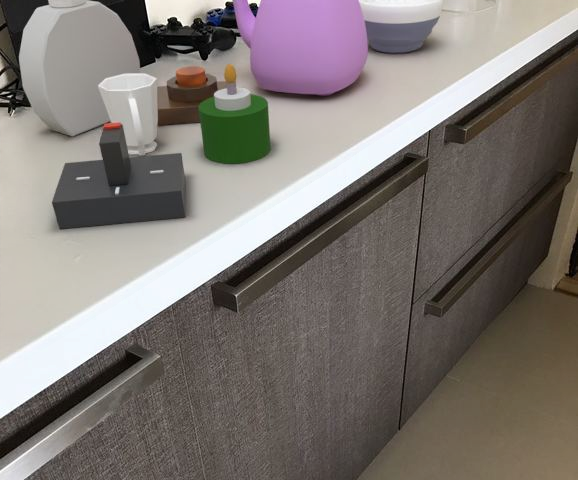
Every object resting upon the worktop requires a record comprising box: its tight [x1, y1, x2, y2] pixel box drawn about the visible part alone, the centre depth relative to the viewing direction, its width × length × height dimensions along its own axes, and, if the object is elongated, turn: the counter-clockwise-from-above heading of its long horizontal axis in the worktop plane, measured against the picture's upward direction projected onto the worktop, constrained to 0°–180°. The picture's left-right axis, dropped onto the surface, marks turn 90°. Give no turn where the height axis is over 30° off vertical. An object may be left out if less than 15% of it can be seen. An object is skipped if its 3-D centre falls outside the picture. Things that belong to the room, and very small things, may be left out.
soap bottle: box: [18, 0, 141, 137], centre depth 86 cm, size 16×5×20 cm, turn 142°
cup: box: [98, 72, 158, 157], centre depth 81 cm, size 7×10×8 cm
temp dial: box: [98, 122, 131, 186], centre depth 69 cm, size 5×2×5 cm, turn 7°
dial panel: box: [51, 152, 186, 230], centre depth 72 cm, size 13×10×3 cm
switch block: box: [157, 73, 227, 127], centre depth 93 cm, size 12×10×4 cm
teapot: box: [231, 0, 369, 97], centre depth 99 cm, size 23×21×15 cm
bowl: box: [359, 0, 444, 54], centre depth 112 cm, size 14×14×8 cm
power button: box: [175, 65, 206, 86], centre depth 91 cm, size 4×4×2 cm
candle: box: [198, 63, 271, 165], centre depth 79 cm, size 8×8×10 cm
